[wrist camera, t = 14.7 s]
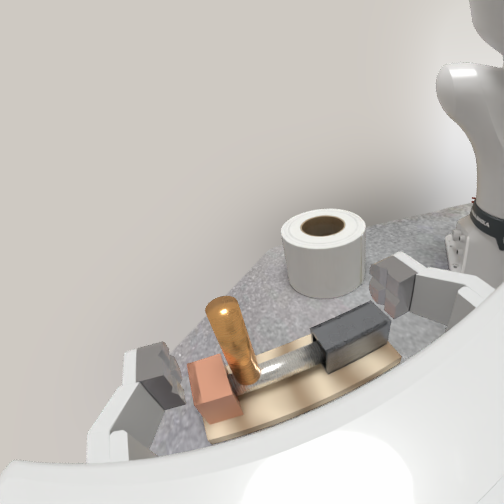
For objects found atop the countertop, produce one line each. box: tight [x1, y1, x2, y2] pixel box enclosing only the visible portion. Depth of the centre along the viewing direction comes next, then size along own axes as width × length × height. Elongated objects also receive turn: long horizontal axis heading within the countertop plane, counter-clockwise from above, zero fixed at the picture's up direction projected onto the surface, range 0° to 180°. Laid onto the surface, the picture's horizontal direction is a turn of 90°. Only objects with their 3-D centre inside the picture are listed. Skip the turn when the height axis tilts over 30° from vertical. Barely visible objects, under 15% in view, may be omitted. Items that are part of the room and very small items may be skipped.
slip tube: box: [205, 296, 326, 396], centre depth 30 cm, size 16×3×14 cm, turn 106°
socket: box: [187, 354, 244, 424], centre depth 31 cm, size 4×7×5 cm
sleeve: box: [310, 301, 391, 375], centre depth 34 cm, size 10×5×5 cm, turn 106°
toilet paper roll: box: [281, 209, 366, 299], centre depth 51 cm, size 16×15×11 cm
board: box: [202, 334, 402, 444], centre depth 35 cm, size 27×11×2 cm, turn 106°
